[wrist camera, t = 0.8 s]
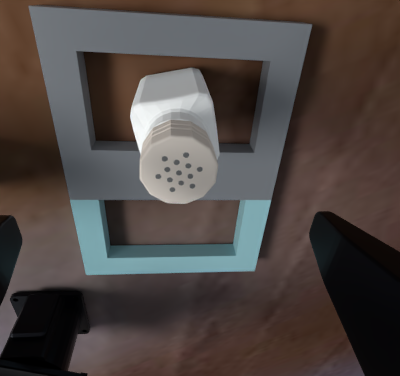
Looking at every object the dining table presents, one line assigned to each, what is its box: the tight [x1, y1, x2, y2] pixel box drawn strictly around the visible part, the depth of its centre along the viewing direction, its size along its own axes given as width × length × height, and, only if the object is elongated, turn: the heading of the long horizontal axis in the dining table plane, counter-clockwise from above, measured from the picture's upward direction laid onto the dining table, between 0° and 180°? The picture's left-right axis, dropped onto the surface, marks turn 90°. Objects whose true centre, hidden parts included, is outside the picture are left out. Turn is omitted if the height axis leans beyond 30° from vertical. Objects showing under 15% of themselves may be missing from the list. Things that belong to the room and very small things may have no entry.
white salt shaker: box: [130, 68, 220, 204], centre depth 16 cm, size 4×4×10 cm
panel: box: [29, 5, 312, 275], centre depth 22 cm, size 20×15×2 cm
